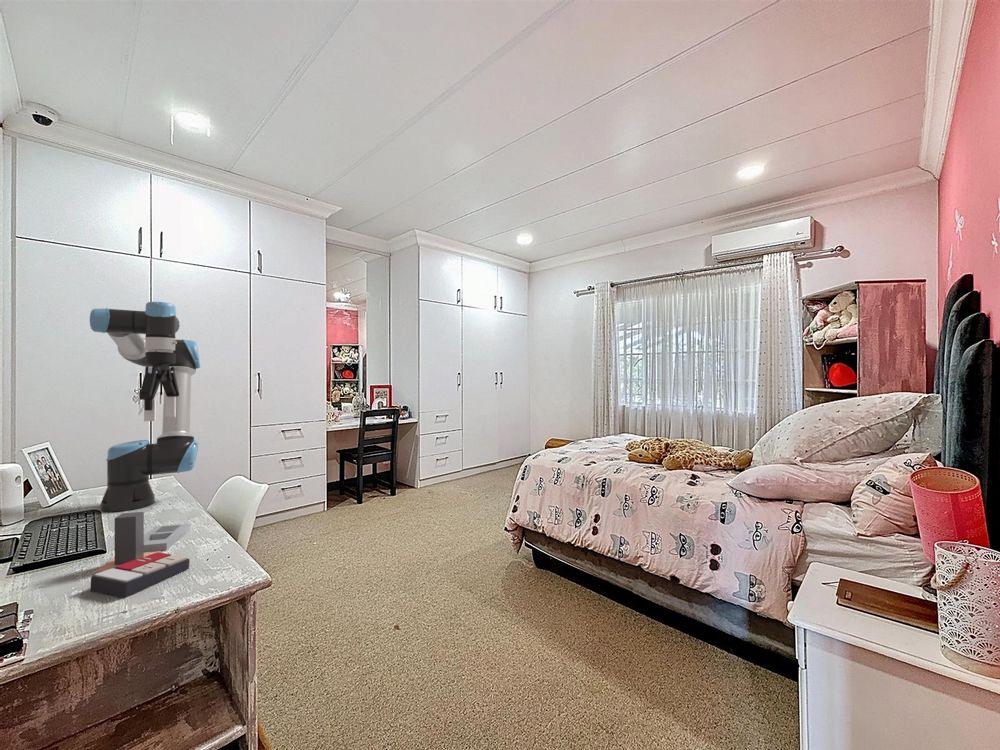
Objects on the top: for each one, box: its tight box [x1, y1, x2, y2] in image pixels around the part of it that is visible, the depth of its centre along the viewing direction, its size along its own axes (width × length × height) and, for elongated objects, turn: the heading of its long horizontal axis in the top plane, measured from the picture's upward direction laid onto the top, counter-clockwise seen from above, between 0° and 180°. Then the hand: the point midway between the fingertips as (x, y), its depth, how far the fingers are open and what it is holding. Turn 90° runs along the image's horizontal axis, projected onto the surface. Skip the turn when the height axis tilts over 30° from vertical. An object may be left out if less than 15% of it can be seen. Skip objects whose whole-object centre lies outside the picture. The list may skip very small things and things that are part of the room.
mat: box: [93, 551, 162, 575], centre depth 113 cm, size 10×10×1 cm
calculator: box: [89, 551, 190, 599], centre depth 104 cm, size 11×4×15 cm
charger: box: [114, 511, 145, 565], centre depth 113 cm, size 4×4×12 cm
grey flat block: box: [144, 523, 191, 553], centre depth 127 cm, size 16×9×2 cm, turn 16°
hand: (160, 418), depth 137 cm, fingers open, 13 cm apart
